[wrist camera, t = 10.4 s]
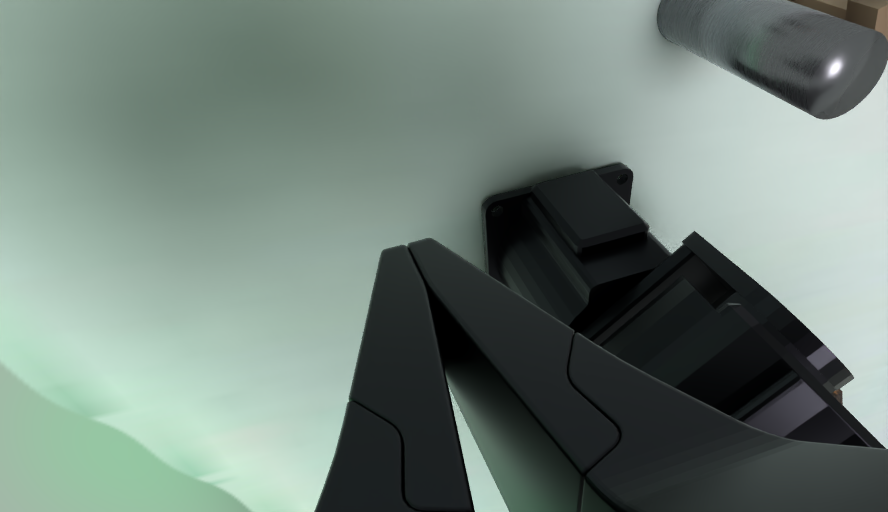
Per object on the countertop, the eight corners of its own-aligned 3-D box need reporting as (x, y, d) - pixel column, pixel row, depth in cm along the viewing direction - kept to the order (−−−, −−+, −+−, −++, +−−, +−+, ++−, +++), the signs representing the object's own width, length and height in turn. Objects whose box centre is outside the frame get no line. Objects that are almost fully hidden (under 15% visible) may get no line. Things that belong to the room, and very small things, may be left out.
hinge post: (710, 35, 22) (868, 109, 16) (653, 47, 21) (796, 127, 16) (724, -35, 20) (903, 22, 15) (662, -23, 20) (824, 40, 14)
